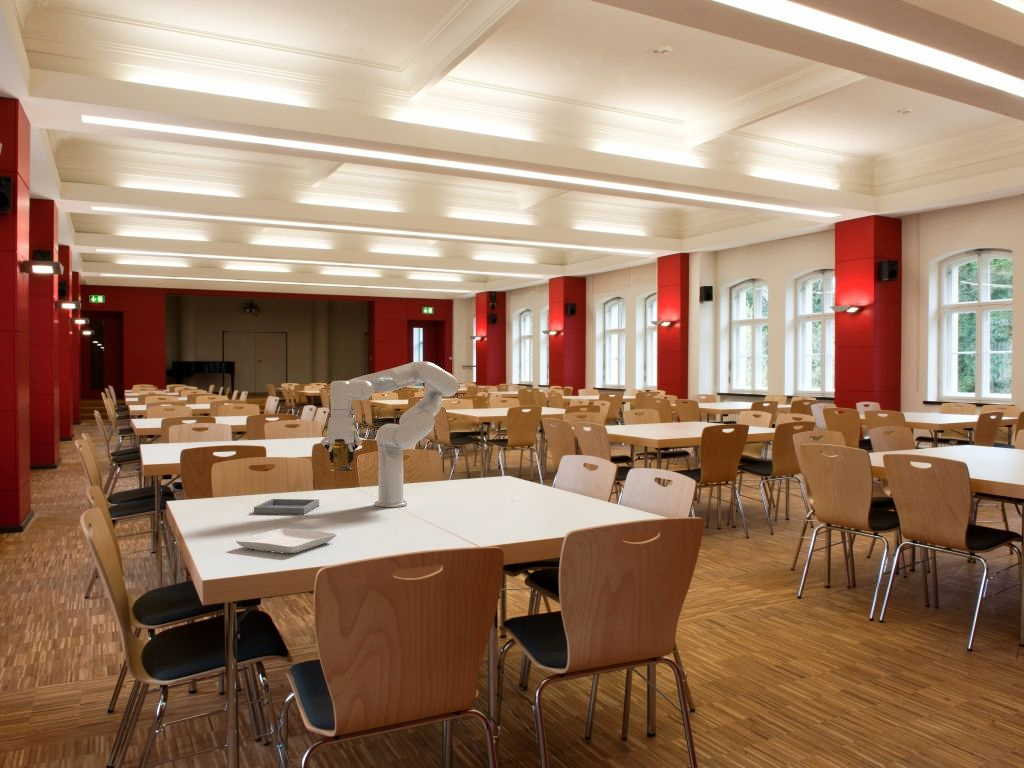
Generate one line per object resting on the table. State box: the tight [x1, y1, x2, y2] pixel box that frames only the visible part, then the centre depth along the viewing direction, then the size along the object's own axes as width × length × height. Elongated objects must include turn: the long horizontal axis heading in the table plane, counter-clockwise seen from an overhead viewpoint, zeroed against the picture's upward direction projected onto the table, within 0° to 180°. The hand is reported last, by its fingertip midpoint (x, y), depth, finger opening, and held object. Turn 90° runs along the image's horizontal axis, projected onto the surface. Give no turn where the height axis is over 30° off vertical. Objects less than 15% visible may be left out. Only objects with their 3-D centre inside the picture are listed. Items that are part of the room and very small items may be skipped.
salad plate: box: [235, 527, 337, 554], centre depth 228 cm, size 21×21×3 cm
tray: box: [253, 498, 320, 516], centre depth 287 cm, size 18×18×2 cm
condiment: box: [330, 439, 359, 473], centre depth 286 cm, size 7×8×12 cm
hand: (341, 461), depth 286 cm, fingers closed on condiment, 6 cm apart
